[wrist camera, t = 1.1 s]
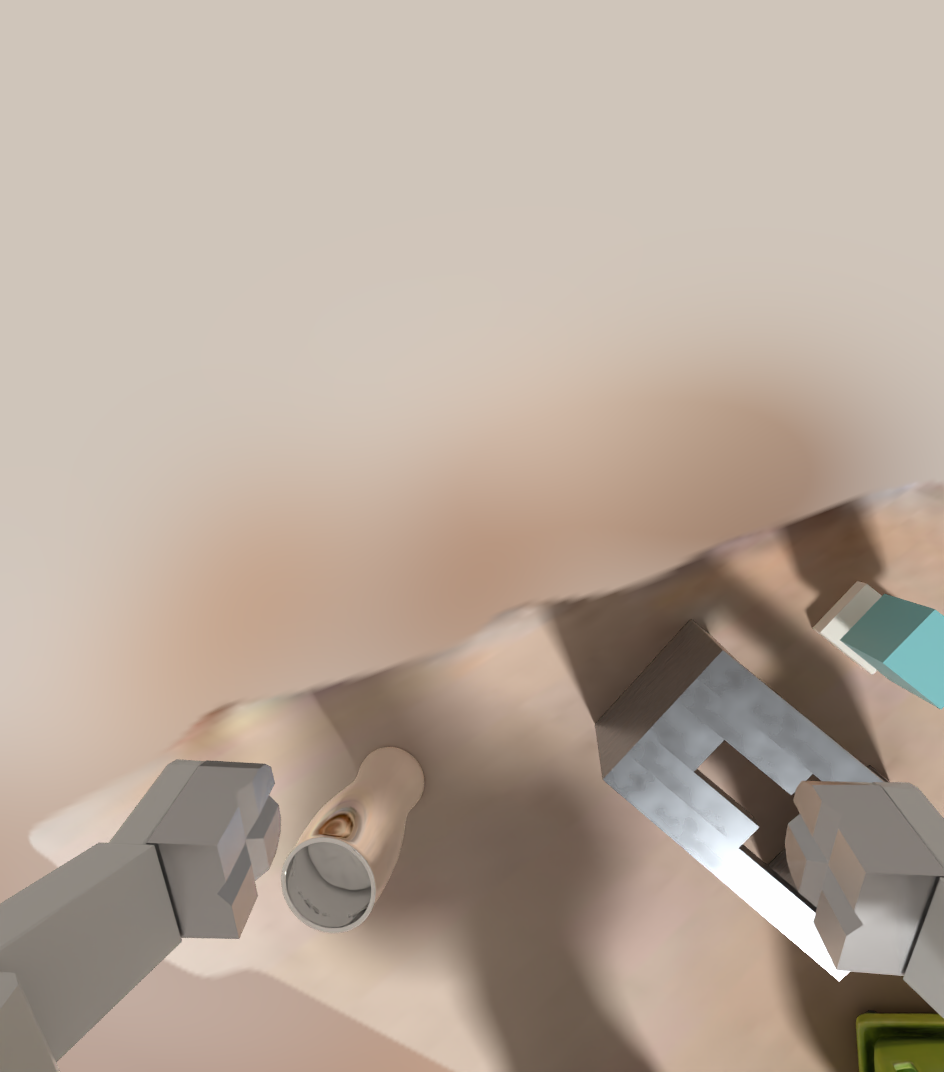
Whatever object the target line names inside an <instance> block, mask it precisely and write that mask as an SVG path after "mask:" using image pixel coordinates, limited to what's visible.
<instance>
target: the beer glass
mask: <svg viewBox="0 0 944 1072" xmlns="http://www.w3.org/2000/svg"><path fill="white" fill-rule="evenodd" d="M423 790H424V775H423V771H422V769H421V766H420V765H419V763H418V762H417V760H416V759H415V758H414V757H413V756H412V755H411V754H409V753H408V752H406V751H404V750H402V749H400V748H396V747H383V748H379V749H377V750H375V751H373V752H371V753H370V754H369V755H368V756H367V757H366V758H365V759H364V761H363V762H362V764H361V766H360V768H359V771H358V774H357V777H356V779H355V780H354V781H353V782H352V783H351V784H349V785H348V786H347V787H345V788H344V789H343V790H341V791H340V792H339V793H337V794H336V795H335V796H334V797H332V798H331V799H330V800H329V801H328V802H327V803H326V804H325V805H324V806H323V807H322V808H321V809H320V810H319V811H318V812H317V814H316V815H315V816H314V817H313V818H312V820H311V821H310V823H309V824H308V825H307V827H306V828H305V830H304V831H303V833H302V835H301V836H300V838H299V839H298V841H297V843H296V844H295V846H294V848H293V850H292V851H291V852H290V854H289V855H288V857H287V858H286V860H285V862H284V865H283V868H282V874H281V886H282V891H283V895H284V898H285V900H286V902H287V904H288V906H289V908H290V909H291V911H292V912H293V913H294V915H295V916H296V917H297V918H298V919H299V920H301V921H302V922H303V923H304V924H306V925H307V926H309V927H311V928H313V929H315V930H318V931H321V932H326V933H342V932H346V931H349V930H352V929H354V928H356V927H357V926H359V925H360V924H361V923H363V922H364V921H365V920H366V918H367V917H368V916H369V914H370V913H371V911H372V909H373V906H374V904H375V903H376V901H377V900H378V898H379V896H380V895H381V893H382V891H383V890H384V888H385V886H386V884H387V882H388V880H389V878H390V876H391V874H392V872H393V870H394V867H395V865H396V862H397V860H398V857H399V854H400V850H401V846H402V842H403V836H404V831H405V824H406V818H407V814H408V812H409V811H410V810H411V809H412V808H413V807H414V806H415V805H416V804H417V802H418V801H419V800H420V798H421V796H422V793H423Z"/></svg>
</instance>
